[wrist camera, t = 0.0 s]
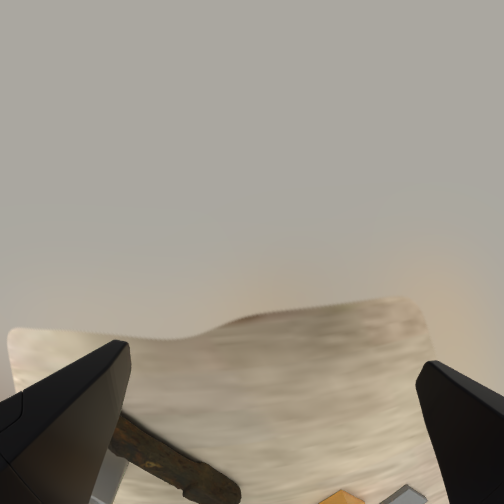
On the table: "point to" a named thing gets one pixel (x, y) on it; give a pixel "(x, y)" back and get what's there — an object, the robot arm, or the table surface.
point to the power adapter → (108, 479)
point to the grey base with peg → (406, 497)
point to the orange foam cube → (342, 499)
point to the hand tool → (172, 466)
